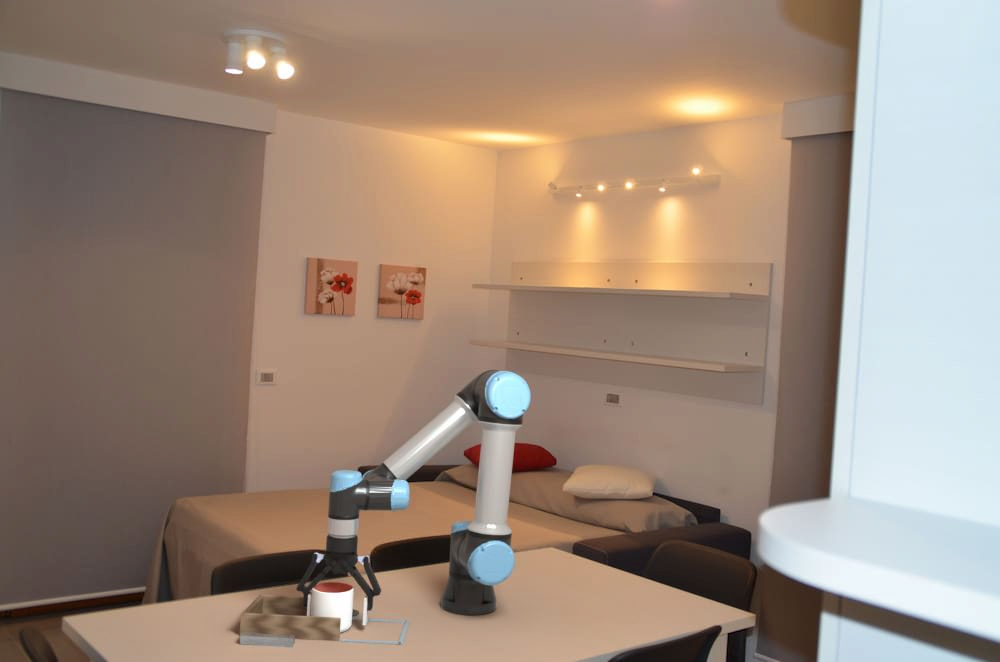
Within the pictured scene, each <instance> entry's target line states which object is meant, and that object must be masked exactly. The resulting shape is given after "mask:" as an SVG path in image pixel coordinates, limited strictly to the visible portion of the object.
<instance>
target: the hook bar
mask: <svg viewBox="0 0 1000 662" xmlns="http://www.w3.org/2000/svg"><path fill="white" fill-rule="evenodd" d="M295 641H296V639H295V636H293V635H274V634H256V633H254V630H245V631H244V632H243V633H242V634H241V635H240V634H239V646H241V645H242V646H243V645H244V646H261V647H262V646H263V647H276V648H277V647H278V648H282V647H283V648H293V647H294V646H295V644H296V643H295Z"/></svg>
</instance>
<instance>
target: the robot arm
mask: <svg viewBox="0 0 1000 662" xmlns="http://www.w3.org/2000/svg"><path fill="white" fill-rule="evenodd" d="M531 397H532V396H531V390H530V387H529V385H528V383H527V381H526V380H525V379H524V378H523V377H522V376H521V375H518V374H517V373H514V372H513V371H508V370H497V369H489V370H486V371H483V372H481V373H479V374H478V375H477V376H475V377H474V378H473V379H472V380H471V381H469V382H468V384H466V385H465V386H464V387H463V388H462V389H461V390H460V391H459V392H457V393H456V394H455V395H454V399H453V402H451V403H450V404H449V405H448V406H447V407H445V409H443V410H442V411H441V412H440V413H439V414H438V415H436V416H435V417H433V418H432V420H431V421H429V422H428V423H427V424H426V425H424V426H423V428H421V429H420V430H419V431H418V432H417V433H415V434H414V435H413V436H412V437H410V439H408V440H407V441H406V442H405V443H404V444H402V445H401V446H400V447H399V448H398V449H397V450H395V451H394V452H393V453H392V454H391V455H390V456H388V457H387V458H386V459H385V460H384V461H383V462H382V463H381V464H378V466H376V468H375V469H371V470H368V471H366V472H365V473H364V474H363V475H362V473H361V472H360V471H358V470H350V469H341V470H339V469H338V470H335V471H333V472H332V474H331V476H330V483H329V484H330V485H329V489H328V490H329V492H328V493H329V494H328V514H327V515H328V516H327V526H326V527H327V528H326V533H327V534H328V535H327V536H326V544H325V553H324V554H323V553H319V551H314V553H313V554H312V556H311V561H310V564H309V565H308V567H307V570H305V572H304V574H303V576H302V578H301V580H300V581H299V583H298V585H297V586H296V591H297V592H300V593H302V594H303V597H304V601H303V606H304V607H307V616H311V600H312V588H314V587H315V586H316V585H317V584H319V583H320V582H321V581H322V580H323V578H324V577H325V576H326V575H327V574H328V573H329V572H331V573H332V574H336V575H337V574H342V575H347V574H350V577H352V578H353V579H354V580H355V581H356V582H355V583H357V584H358V585H359V587H360V589H361V590H362V592H364V594H365V596H364V599H363V614H362V618H363V621H362V626H366V625H367V623H368V621H367V620H368V619H369V617H368V616H369V611H370V612H372V609H373V607H374V606H373V605H374V597H377V596H380V594H381V593H382V589H381V586H380V584H379V582H378V580H377V577H376V574H375V572H374V570H373V567H372V565H371V558H370V557H371V556H370V555H369V554H366V555H361V556H360V555H358V543H359V542H358V540H359V539H358V538H359V537H358V535H357V534H359V524H360V523H359V522H360V512H361V511H392V512H396V511H405V510H406V509H407V508H408V507H409V503H410V492H411V491H410V484H409V483H408V481H407V479H409V478H410V477H411V476H412V475H414V473H416V472H417V471H418V470H419V469H421V467H423V466H424V465H425V464H426V463H427V462H428V461H430V460H431V459H432V458H433V457H434V456H435V455H436V454H438V453H439V452H440V451H441V450H442V449H443V448H445V446H446V445H448V444H449V443H450V442H452V441H453V440H454V439H455V438H456V437H457V436H458V435H460V434H461V433H462V432H463V431H464V430H465V429H467V428H468V426H470V425H471V424H473V423H475V424H479V425H480V426H481V428H482V434H481V442H480V443H481V444H480V452H479V453H480V454H479V462H478V464H479V465H478V475H477V484H476V494H475V495H476V496H475V503H474V504H475V505H474V514H473V520H472V521H471V520H469V521H468V520H467V521H465V520H464V521H456V522H453V524H452V525H451V531H450V535H449V536H450V546H449V547H450V548H449V565H448V569H449V570H448V578H447V582H446V583H445V587H444V589H443V592H442V594H441V596H440V597H441V598H440V607H441V608H442V609H443V610H445V611H447V612H450V613H453V614H456V615H457V614H458V615H466V616H468V615H469V616H471V615H472V616H476V615H485V614H490V613H493V612H494V611H496V609H497V595H496V592H495V589H494V586H496V585H499V584H501V583H503V582H504V581H506V580H507V579H508V578H509V577H510V576H511V574H512V573H513V571H514V568H515V565H516V564H515V563H516V557H515V552H514V551H513V549H512V548H511V547H512V546H511V544H512V535H513V530H512V529H511V527H509V525H508V513H509V504H510V496H511V495H510V494H511V483H512V473H513V466H514V465H513V464H514V463H513V462H514V454H515V453H514V452H515V444H516V443H515V441H516V434H517V433H516V432H517V431H518V430H519V429H520V428H521V427H522V426H523V420H524V414H525V412H526V411H527V410H528V409H529V407H530V403H531ZM321 561H324V562H323V563H325V565H326V566H325V567H324V569H323V570H321V572H320V573H318V574H317V575H316V577H315V578H314V579H312V581H311V582H310V583H309V584H308V585H307V586H306V583H307V582H308V581H309V578H310V576H311V575H312V573H313V571H314V570H315V568H316V567H317V565H318V564H319V563H320V562H321ZM358 562H359V563H360V565H361V566H363V569H364V571H365V574H366V576H367V578H368V580H369V583H370V585H371V586H370V585H369V583H368V582H367V581H366V580H365V578H364V577H363V575H362V574H361V573H360V571H359V570H358V569H359V568H357V566H356V565H357V563H358Z"/></svg>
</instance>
